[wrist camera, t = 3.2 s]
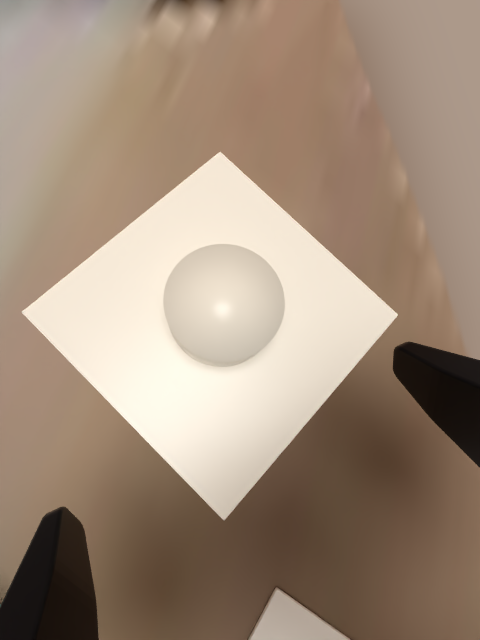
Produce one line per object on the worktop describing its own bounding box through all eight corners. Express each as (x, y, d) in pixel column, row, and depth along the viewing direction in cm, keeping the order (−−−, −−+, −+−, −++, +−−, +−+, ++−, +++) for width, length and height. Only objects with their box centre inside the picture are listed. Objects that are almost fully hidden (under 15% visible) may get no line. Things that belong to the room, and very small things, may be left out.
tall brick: (264, 375, 19) (425, 302, 6) (204, 439, 18) (228, 540, 5) (204, 316, 19) (222, 118, 6) (142, 376, 18) (-7, 296, 5)
